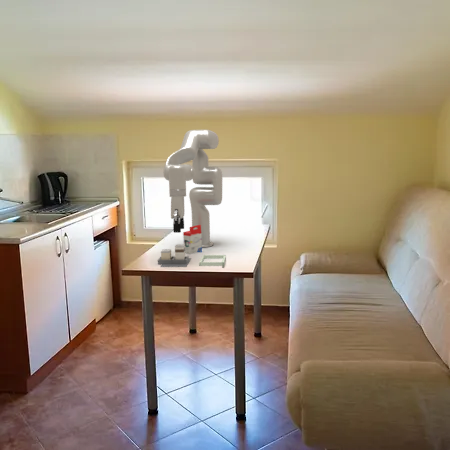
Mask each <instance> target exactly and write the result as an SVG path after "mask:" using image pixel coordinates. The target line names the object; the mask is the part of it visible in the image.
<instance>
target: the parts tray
mask: <svg viewBox="0 0 450 450" xmlns="http://www.w3.org/2000/svg"><path fill="white" fill-rule="evenodd" d="M205 259H208V260H209V259H210V260H211V259H218V260H219V259H222V261H205ZM226 262H227V255H226V254H202V256H201V258H200V260H199V263H198V265H199V266H200V267H211V266H213V267H219V266H220V267H221V268H222V269H224V268H225V265H226Z"/></svg>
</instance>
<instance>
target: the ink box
mask: <svg viewBox="0 0 450 450" xmlns="http://www.w3.org/2000/svg"><path fill="white" fill-rule="evenodd" d="M195 227H196V228H197V229H194V228H195ZM182 235H183V236H182V237H183V245H185V254H188V255H192V254H196V253H197V254H198V253H202V252H203V248H202V235H201V225H196V226H192V225H191V226H190V227H189V230H187V231H183V233H182Z"/></svg>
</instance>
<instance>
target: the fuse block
mask: <svg viewBox="0 0 450 450" xmlns="http://www.w3.org/2000/svg"><path fill="white" fill-rule="evenodd" d="M191 260H192V258H191V257H190V256H189V255H185V260H175V255H174V256H172V249H171V248H169V249H167V248H164V249H161V250H160V256H159V258H158V259H157V265H160V266H159V267H160V268H187V267H188V265H189V263H190V262H191Z"/></svg>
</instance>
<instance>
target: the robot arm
mask: <svg viewBox="0 0 450 450" xmlns="http://www.w3.org/2000/svg"><path fill="white" fill-rule="evenodd" d="M219 141H220V140H219V136H218V134H217V133H216V132H215V131H212V130H210V129H190V130H188V131H186V133H184V135H183V139H182V142H181V144H180V148H179V149H177V150H176V151H174V152H173V153H172V154H170V155H169V156H168V157H167V159H166V162H165V164H164V168H163V177H164V180H166V181H168V188H169V190H168V191H169V193H168V195H169V197H170V198H171V199H170V218H171V220H173V221H172V222H173V224H172V225H173V226H172V228H173V229H172V230H173V233H179V234H180V233H182V231H181V230H184V229H185V220H184V219H185V218H184V217H185V197H187V182H188V181H189V182H190V181H192V182H193V183H194V184H195V185H199V186H197V187H193V188H191V189H190V190H189V193H188V196H189V197H188V198H189V203H190V207H191V208H190V210H191V227H192V226H196V225H201V235H202V249H203V248H210V247H212V246H214V243H213V242H212V241H211V229H210V228H211V227H210V225H211V224H210V211H209V209H208V208H207V207H206V206H220V205H221V204H222V202H223V171H222V169H221V167H219V166H209V156H208V154H207V153H206V151H205V150H215V149H217V148H218V146H219ZM191 161H192V164H187V163H189V162H191ZM200 185H205V186H200ZM206 185H207V186H208V185H211V186H210V187H209V186H208V187H207V186H206ZM194 229H197V228H196V227H195V228H194Z"/></svg>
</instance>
